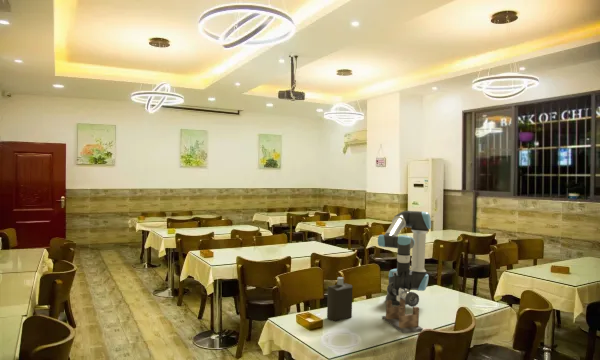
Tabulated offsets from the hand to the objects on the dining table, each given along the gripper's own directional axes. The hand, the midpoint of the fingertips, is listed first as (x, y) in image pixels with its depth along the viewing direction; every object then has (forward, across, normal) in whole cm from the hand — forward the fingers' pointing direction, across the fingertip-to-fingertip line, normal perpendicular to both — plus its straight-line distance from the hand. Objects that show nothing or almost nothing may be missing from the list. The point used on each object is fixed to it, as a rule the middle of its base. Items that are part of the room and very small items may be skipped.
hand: (402, 300), depth 252 cm
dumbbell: (-4, 0, 0) cm, 4 cm away
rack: (+15, 0, 0) cm, 15 cm away
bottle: (+15, -32, +20) cm, 41 cm away
